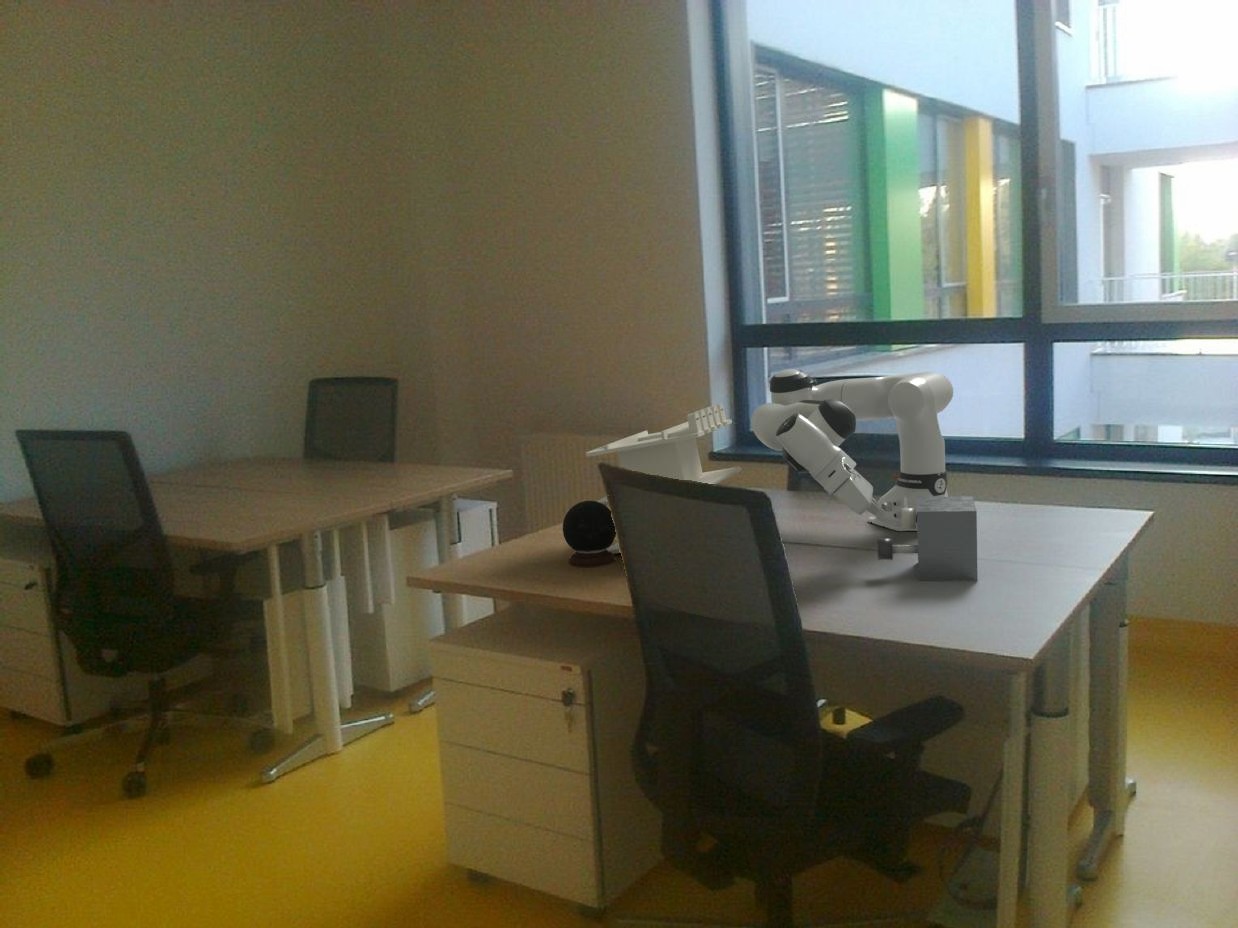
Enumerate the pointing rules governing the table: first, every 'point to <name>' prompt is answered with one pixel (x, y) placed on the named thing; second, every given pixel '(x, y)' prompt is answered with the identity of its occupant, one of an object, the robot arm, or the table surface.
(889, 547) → the charcoal knob
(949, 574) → the control box
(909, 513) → the ivory knob
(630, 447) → the white spaceship model
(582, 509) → the black crystal ball
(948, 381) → the robot arm
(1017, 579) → the table surface
